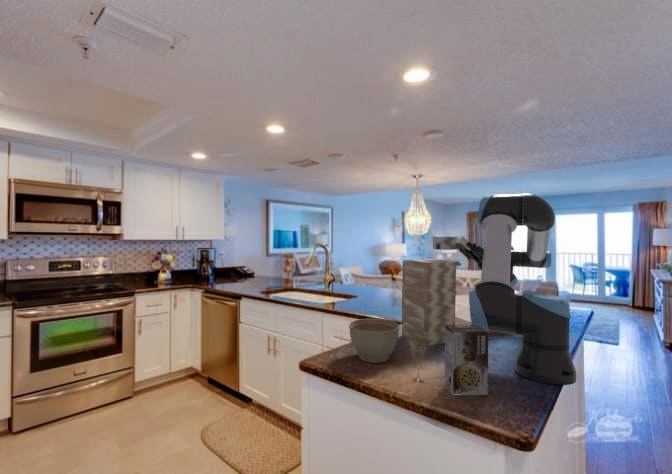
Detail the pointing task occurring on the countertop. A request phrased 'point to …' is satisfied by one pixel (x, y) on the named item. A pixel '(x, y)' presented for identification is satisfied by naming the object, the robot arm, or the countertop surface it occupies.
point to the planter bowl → (374, 338)
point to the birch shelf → (428, 299)
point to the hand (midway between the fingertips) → (458, 239)
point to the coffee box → (466, 359)
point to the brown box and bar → (446, 243)
